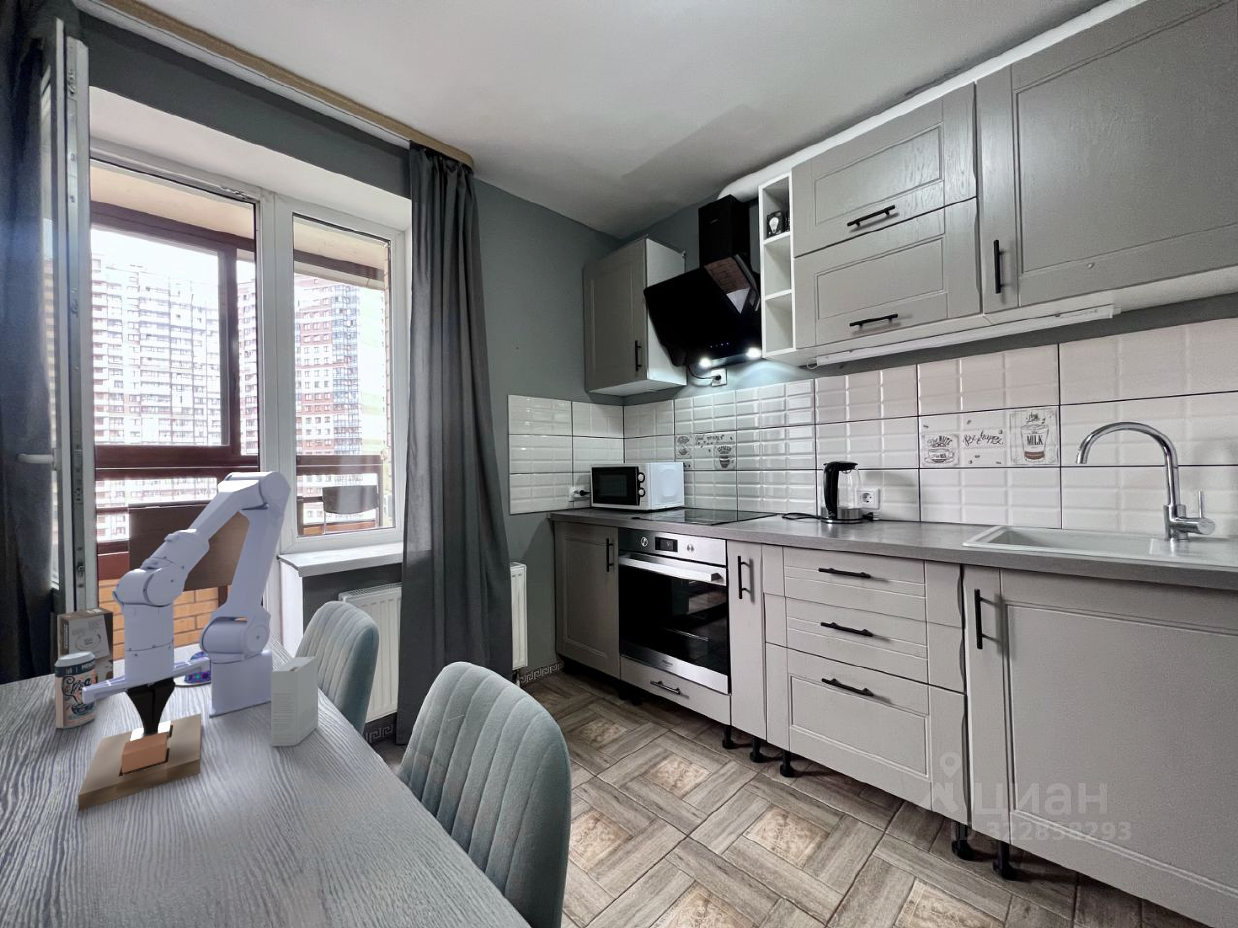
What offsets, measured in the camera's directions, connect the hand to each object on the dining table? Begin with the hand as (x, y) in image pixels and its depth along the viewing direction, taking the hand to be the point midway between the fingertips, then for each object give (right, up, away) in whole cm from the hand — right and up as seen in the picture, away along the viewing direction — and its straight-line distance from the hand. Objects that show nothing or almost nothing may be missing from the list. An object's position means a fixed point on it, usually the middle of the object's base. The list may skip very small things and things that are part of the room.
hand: (150, 730), depth 78 cm
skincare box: (+21, -3, +3) cm, 22 cm away
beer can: (-21, -4, +9) cm, 23 cm away
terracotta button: (+6, 0, -7) cm, 9 cm away
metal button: (0, -3, 0) cm, 3 cm away
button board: (+3, -3, -3) cm, 5 cm away
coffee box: (-33, -4, +21) cm, 40 cm away
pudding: (-15, -4, +29) cm, 33 cm away
